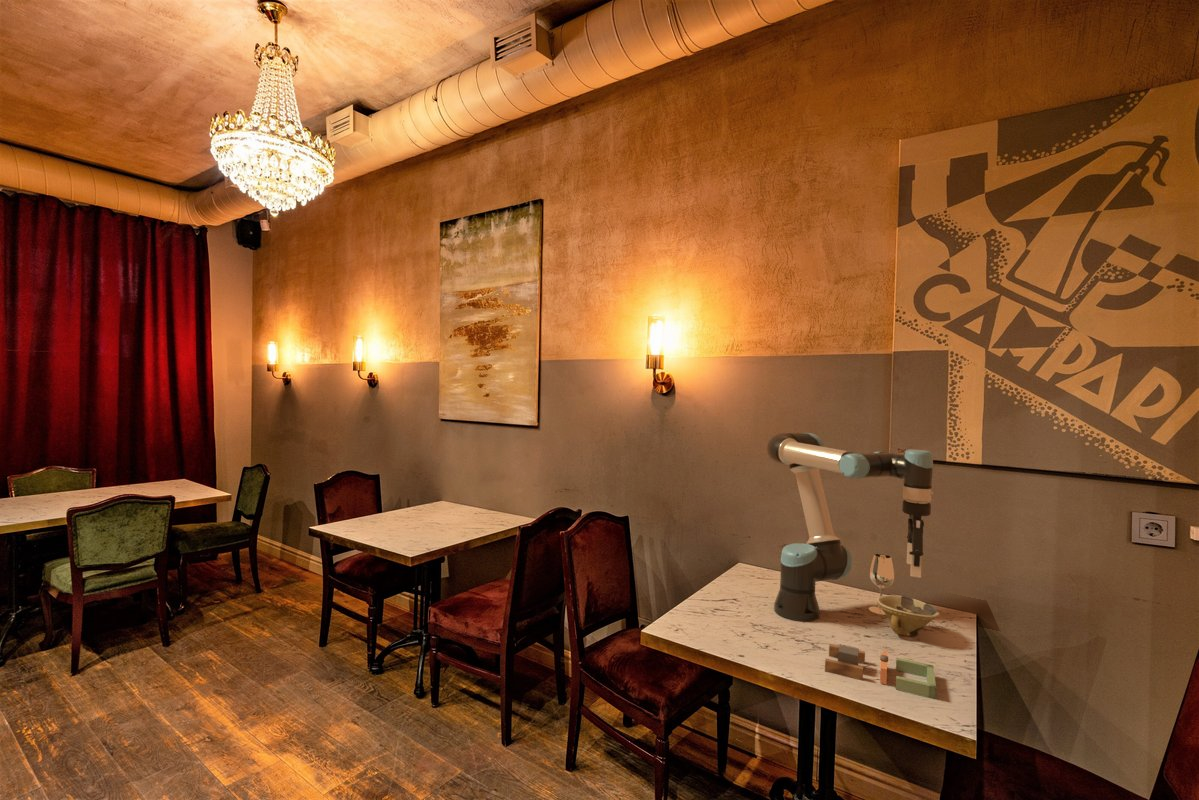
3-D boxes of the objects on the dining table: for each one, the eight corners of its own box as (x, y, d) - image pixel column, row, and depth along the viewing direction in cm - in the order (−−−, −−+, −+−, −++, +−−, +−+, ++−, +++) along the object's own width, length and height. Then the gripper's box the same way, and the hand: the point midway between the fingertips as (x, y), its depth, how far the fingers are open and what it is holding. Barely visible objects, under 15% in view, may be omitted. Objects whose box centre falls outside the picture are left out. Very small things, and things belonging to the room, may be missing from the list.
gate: (879, 682, 152) (879, 664, 152) (880, 665, 162) (880, 648, 162) (887, 684, 151) (888, 666, 151) (888, 667, 161) (888, 649, 161)
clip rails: (824, 671, 158) (825, 660, 158) (829, 654, 169) (829, 644, 169) (862, 680, 154) (862, 669, 154) (864, 662, 164) (865, 651, 164)
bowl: (919, 649, 174) (920, 618, 173) (864, 627, 189) (865, 599, 189) (949, 638, 183) (950, 608, 183) (895, 618, 198) (896, 590, 198)
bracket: (895, 689, 149) (896, 678, 149) (895, 667, 161) (896, 657, 161) (935, 699, 145) (936, 687, 145) (932, 676, 157) (933, 665, 157)
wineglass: (864, 607, 207) (866, 552, 207) (884, 607, 208) (886, 552, 208) (876, 615, 199) (878, 559, 199) (897, 615, 200) (899, 559, 200)
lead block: (837, 669, 160) (838, 651, 160) (839, 661, 164) (839, 644, 164) (857, 673, 157) (857, 655, 157) (858, 666, 162) (858, 648, 162)
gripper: (936, 510, 160) (932, 584, 161) (926, 495, 183) (923, 561, 184) (906, 506, 163) (902, 580, 164) (900, 493, 186) (897, 557, 187)
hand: (913, 570), depth 174 cm, fingers open, 13 cm apart
